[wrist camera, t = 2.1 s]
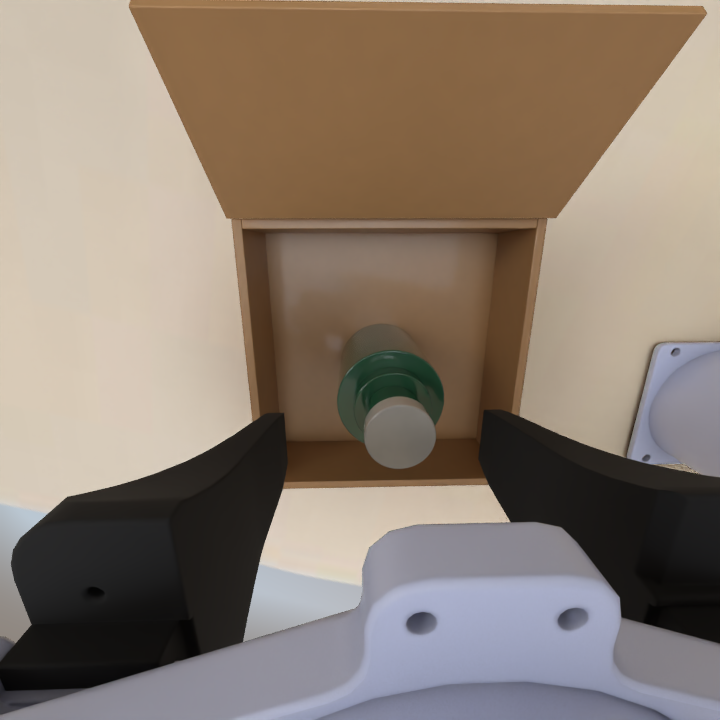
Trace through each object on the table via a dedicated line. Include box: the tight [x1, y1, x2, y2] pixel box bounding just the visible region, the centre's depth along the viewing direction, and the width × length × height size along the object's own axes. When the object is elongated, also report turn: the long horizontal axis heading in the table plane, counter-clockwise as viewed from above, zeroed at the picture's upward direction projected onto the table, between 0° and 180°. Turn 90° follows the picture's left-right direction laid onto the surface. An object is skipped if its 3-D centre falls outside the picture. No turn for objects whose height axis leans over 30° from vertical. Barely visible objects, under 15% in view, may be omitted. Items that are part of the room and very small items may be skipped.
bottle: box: [337, 324, 444, 469], centre depth 16 cm, size 5×5×8 cm
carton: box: [232, 218, 547, 489], centre depth 18 cm, size 13×13×4 cm
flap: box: [129, 0, 707, 218], centre depth 11 cm, size 6×13×1 cm
